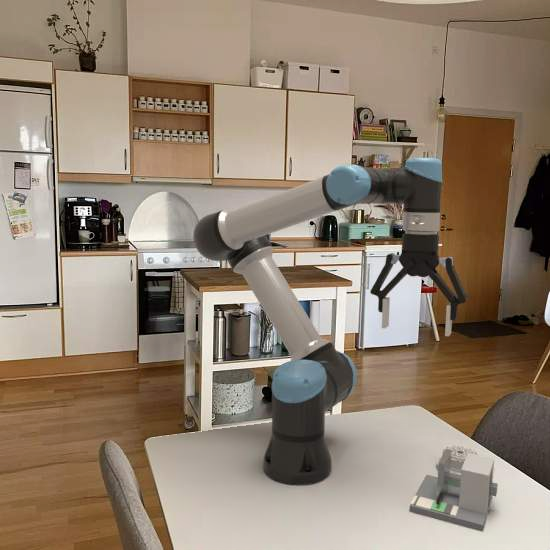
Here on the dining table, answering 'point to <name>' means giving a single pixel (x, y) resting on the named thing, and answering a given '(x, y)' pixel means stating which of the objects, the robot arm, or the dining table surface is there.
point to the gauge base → (459, 495)
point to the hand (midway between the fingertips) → (415, 331)
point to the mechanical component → (457, 458)
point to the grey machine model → (452, 477)
